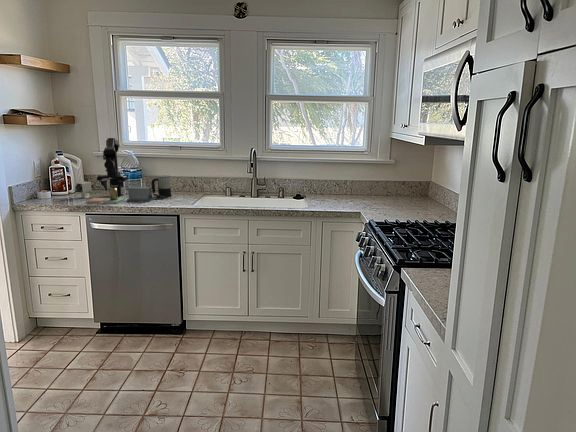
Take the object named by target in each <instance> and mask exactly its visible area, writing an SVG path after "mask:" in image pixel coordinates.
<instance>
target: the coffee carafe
mask: <svg viewBox="0 0 576 432" xmlns="http://www.w3.org/2000/svg"><path fill="white" fill-rule="evenodd" d="M171 177H172V176H171V175H158V176H157V177H154V178H153V179H152V180H151V181H150V182H151V190H152V196H153V197H156V198H158V199H164V198H169V197H172V185H171V184H172V183H171ZM156 182H157V191H158V193H157V194H156V185H155V183H156Z"/></svg>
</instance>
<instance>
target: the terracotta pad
mask: <svg viewBox="0 0 576 432" xmlns="http://www.w3.org/2000/svg"><path fill="white" fill-rule="evenodd" d="M107 199H109V198H108V197H93V198H90V199H89V198H88V199H86V200H85V202H86V204H87V203H88V204H102V203H103V201H105V200H107Z"/></svg>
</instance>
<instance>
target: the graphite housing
mask: <svg viewBox="0 0 576 432" xmlns="http://www.w3.org/2000/svg"><path fill="white" fill-rule="evenodd" d="M127 191H128V192H127V193H128V198H127V202H152V201H154V200H155V197H153V192H152V186H130V187H127Z"/></svg>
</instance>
